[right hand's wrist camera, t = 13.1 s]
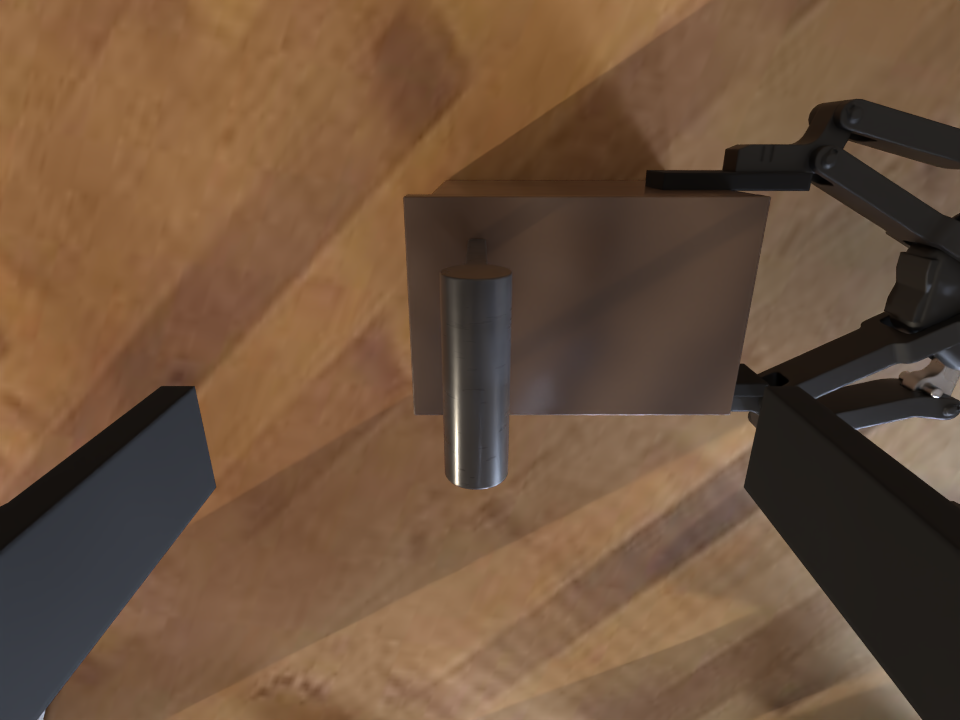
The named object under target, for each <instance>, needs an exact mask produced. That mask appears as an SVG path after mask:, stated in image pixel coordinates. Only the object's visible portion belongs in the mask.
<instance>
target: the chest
mask: <svg viewBox="0 0 960 720" xmlns="http://www.w3.org/2000/svg"><path fill="white" fill-rule="evenodd" d="M645 182H646V180H446V181H445V182H444V183H443V184H442V185H441V186H440V187H439V188H438V189H437V190H435V191H434V192H433V193H432V194H431V195H755V194H751V193H745V192H739V191H733V190H660V189H656V188H651V187H647V186H645Z"/></svg>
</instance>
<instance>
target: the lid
mask: <svg viewBox="0 0 960 720" xmlns="http://www.w3.org/2000/svg"><path fill="white" fill-rule="evenodd" d="M770 199H771V197H770V196H764V195H406V196H404V198H403V200H404V220H405V241H406V261H407V281H408V301H409V322H410V342H411V362H412V382H413V402H414V415H443V419H444V455H445V475H446V477H447V478H448V480H449V481H450V482H451V483H453V484H455V485H456V486H459V487H462V488H466V489H487V488H491V487H494V486H496V485H498V484H500V483H501V482H502V481H504V479H505V478H506V476H507V474H508V448H509V415H730V412H731V407H732V401H733V396H734V391H735V385H736V380H737V375H738V369H739V364H740V359H741V353H742V348H743V343H744V337H745V332H746V327H747V321H748V316H749V311H750V305H751V300H752V295H753V289H754V284H755V279H756V273H757V268H758V263H759V257H760V252H761V247H762V241H763V236H764V231H765V225H766V220H767V215H768V209H769V204H770Z"/></svg>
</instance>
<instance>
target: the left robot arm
mask: <svg viewBox="0 0 960 720" xmlns="http://www.w3.org/2000/svg"><path fill="white" fill-rule="evenodd" d="M808 120H809V127H808V129H807V131H806V133H805V134H804V136H803V137H802V138H801V139H800V140H799V141H797V142H796V143H793V144H789V145H772V144H748V145H735V146H732V147H730V148H727V149H726V150H725V157H724V163H723V169H722V170H647V173H646V182H645V186H647V187H651V188H656V189H660V190H733V191H809V189H810V185H811V183H812V184H813V185H815V186H816V187H818V188H820V189H821V190H823V191H824V192H826V193H827V194H829V195H831V196H832V197H834V198H835V199H837V200H838V201H840V202H842V203H843V204H845V205H846V206H848V207H850V208H851V209H853V210H854V211H856V212H857V213H859V214H861V215H862V216H864V217H865V218H867V219H868V220H870V221H872V222H873V223H875V224H876V225H878V226H879V227H881V228H883V229H884V230H886V234H888V235H889V236H891V237H892V238H894V239H895V240H897V241H899V242H900V243H902V244H903V245H905V246H906V247H908V248H909V249H908V250H907V252H900V256H899V260H898V263H897V267H896V283H895V285H894V287H893V289H892V291H891V292H890V294H889V296H888V299H887V302H886V306H885V309H884V311H885V312H883V313H881V314H879V315H877V316H874V317H872V318H870V319H868V320H865V321H864V322H862V323H861V327H860V328H859V329H858V330H856V331H853V332H851V333H849V334H847V335H844V336H842V337H840V338H838V339H835V340H833V341H831V342H829V343H826V344H824V345H822V346H820V347H817V348H815V349H813V350H811V351H809V352H806V353H804V354H802V355H800V356H797V357H795V358H793V359H791V360H788V361H786V362H784V363H782V364H779V365H777V366H775V367H773V368H770V369H768V370H766V371H764V372H762V373H759V374H756V373H755V372H753V371H752V370H751V369H750V368H749V367H747V366H746V365H745V364H739V369H738V375H737V380H736V385H735V391H734V396H733V401H732V407H731V411H750V412H749V414H748V419H749V421H750V422H751V423H752V424H753V425H754V426H755V427H756V428H757V423H758V418H759V414H760V409H761V404H762V400H763V395H764V390H765V386H799V387H800V388H802V389H803V390H804V391H806V392H807V393H808V394H810V395H811V396H812V397H813V398H815V399H816V400H817V401H819V402H820V403H821V404H823V405H824V406H825V407H827V408H828V409H829V410H831V411H832V412H833V413H835V414H836V415H837V416H838V417H840V418H841V419H842V420H844V421H845V422H846V423H848V424H849V425H850V426H852V427H853V428H854V429H861V428H865V427H870V426H875V425H880V424H884V423H889V422H894V421H898V420H903V419H908V418H913V417H919V418H930V419H941V420H950V419H952V418H955V417H956V416H957V415H959V413H960V401H959V400H957V399H955V398H953V397H951V394H952V392H953V390H954V387H955V385H956V383H957V381H958V379H959V376H960V213H959V214H957V215H956V216H954V217H953V218H950V217H947V216H945V215H943V214H941V213H939V212H938V211H936V210H935V209H933V208H932V207H930V206H928V205H927V204H925V203H924V202H922V201H921V200H919V199H918V198H916V197H915V196H913V195H912V194H910V193H909V192H907V191H906V190H904V189H903V188H901V187H900V186H898V185H897V184H895V183H893V182H892V181H890V180H889V179H887V178H886V177H884V176H883V175H881V174H880V173H878V172H877V171H875V170H874V169H872V168H871V167H869V166H868V165H866V164H865V163H863V162H861V161H860V160H858V159H857V158H855V157H854V156H852V155H851V154H849V153H848V152H846V151H845V150H843V148H844V146H845V144H846V143H847V141H852V142H855V143H858V144H862V145H865V146H869V147H872V148H875V149H879V150H882V151H886V152H889V153H892V154H896V155H899V156H903V157H906V158H909V159H913V160H916V161H920V162H923V163H926V164H930V165H933V166H937V167H941V168H947V169H960V129H959V128H955V127H952V126H949V125H945V124H942V123H939V122H936V121H932V120H929V119H926V118H922V117H919V116H916V115H912V114H909V113H906V112H903V111H899V110H896V109H893V108H889V107H886V106H883V105H879V104H876V103H873V102H869V101H866V100H863V99H852V100H844V101H836V102H828V103H822V104H819V105H817V106H816V107H815V108H813V110H812V111H811V113H810V115H809V119H808ZM927 357H929V358H930V359H931V360H932V361H931V362H930V364H929V365H928V366H927V367H926V368H924V369H922V370H919V371H913V372H911V373H910V372H908V371H904V372H902V373H900V375H899V379H894V378H889V379H879V380H873V381H869V382H864V383H860V384H855V385H851V386H846V385H848V384H851V383H853V382H855V381H858V380H860V379H862V378H865V377H867V376H869V375H872V374H874V373H876V372H879V371H881V370H883V369H885V368H888V367H890V366H892V365H895V364H899V363H905V364H909V363H915V362H918V361H920V360H922V359H925V358H927ZM844 386H846V387H844ZM841 387H842V388H841Z"/></svg>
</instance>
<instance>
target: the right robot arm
mask: <svg viewBox="0 0 960 720" xmlns="http://www.w3.org/2000/svg"><path fill="white" fill-rule="evenodd" d="M215 488H216V484H215V479H214V474H213V470H212V465H211V460H210V456H209V451H208V446H207V442H206V437H205V432H204V428H203V423H202V418H201V414H200V409H199V404H198V400H197V395H196V390H195V386H161V387H160V388H158V389H157V390H156V391H154V392H153V393H152V394H150V395H149V396H148V397H147V398H145V399H144V400H143V401H141V402H140V403H139V404H137V405H136V406H135V407H133V408H132V409H131V410H129V411H128V412H127V413H125V414H124V415H123V416H122V417H120V418H119V419H118V420H116V421H115V422H114V423H112V424H111V425H110V426H108V427H107V428H106V429H104V430H103V431H102V432H101V433H99V434H98V435H97V436H95V437H94V438H93V439H91V440H90V441H89V442H87V443H86V444H85V445H83V446H82V447H81V448H79V449H78V450H77V451H76V452H74V453H73V454H72V455H70V456H69V457H68V458H66V459H65V460H64V461H62V462H61V463H60V464H58V465H57V466H56V467H54V468H53V469H52V470H51V471H49V472H48V473H47V474H45V475H44V476H43V477H41V478H40V479H39V480H37V481H36V482H35V483H33V484H32V485H31V486H30V487H28V488H27V489H26V490H24V491H23V492H22V493H20V494H19V495H18V496H16V497H15V498H14V499H12V500H11V501H10V502H8V503H6V504H4V505H3V506H1V507H0V720H38V719H39V717H40V716H41V715H42V713H43V712H44V711H45V709H46V708H47V707H48V705H49V704H50V703H51V702H52V700H53V699H54V698H55V696H56V695H57V694H58V692H59V691H60V690H61V689H62V687H63V686H64V685H65V683H66V682H67V681H68V679H69V678H70V677H71V676H72V674H73V673H74V672H75V670H76V669H77V668H78V666H79V665H80V664H81V663H82V661H83V660H84V659H85V657H86V656H87V655H88V653H89V652H90V651H91V650H92V648H93V647H94V646H95V644H96V643H97V642H98V640H99V639H100V638H101V637H102V635H103V634H104V633H105V631H106V630H107V629H108V627H109V626H110V625H111V623H112V622H113V621H114V620H115V618H116V617H117V616H118V614H119V613H120V612H121V610H122V609H123V608H124V607H125V605H126V604H127V603H128V601H129V600H130V599H131V597H132V596H133V595H134V594H135V592H136V591H137V590H138V588H139V587H140V586H141V584H142V583H143V582H144V581H145V579H146V578H147V577H148V575H149V574H150V573H151V571H152V570H153V569H154V568H155V566H156V565H157V564H158V562H159V561H160V560H161V558H162V557H163V556H164V555H165V553H166V552H167V551H168V549H169V548H170V547H171V545H172V544H173V543H174V542H175V540H176V539H177V538H178V536H179V535H180V534H181V532H182V531H183V530H184V528H185V527H186V526H187V525H188V523H189V522H190V521H191V519H192V518H193V517H194V515H195V514H196V513H197V512H198V510H199V509H200V508H201V506H202V505H203V504H204V502H205V501H206V500H207V499H208V497H209V496H210V495H211V493H212V492H213V491H214V489H215ZM744 488H745V489H746V491H747V492H748V493H749V495H750V496H751V497H752V499H753V500H754V501H755V502H756V504H757V505H758V506H759V508H760V509H761V510H762V512H763V513H764V514H765V515H766V517H767V518H768V519H769V521H770V522H771V523H772V525H773V526H774V527H775V528H776V530H777V531H778V532H779V534H780V535H781V536H782V538H783V539H784V540H785V542H786V543H787V544H788V545H789V547H790V548H791V549H792V551H793V552H794V553H795V555H796V556H797V557H798V558H799V560H800V561H801V562H802V564H803V565H804V566H805V568H806V569H807V570H808V571H809V573H810V574H811V575H812V577H813V578H814V579H815V581H816V582H817V583H818V584H819V586H820V587H821V588H822V590H823V591H824V592H825V594H826V595H827V596H828V597H829V599H830V600H831V601H832V603H833V604H834V605H835V607H836V608H837V609H838V610H839V612H840V613H841V614H842V616H843V617H844V618H845V620H846V621H847V622H848V624H849V625H850V626H851V627H852V629H853V630H854V631H855V633H856V634H857V635H858V637H859V638H860V639H861V640H862V642H863V643H864V644H865V646H866V647H867V648H868V650H869V651H870V652H871V653H872V655H873V656H874V657H875V659H876V660H877V661H878V663H879V664H880V665H881V666H882V668H883V669H884V670H885V672H886V673H887V674H888V676H889V677H890V678H891V679H892V681H893V682H894V683H895V685H896V686H897V687H898V689H899V690H900V691H901V692H902V694H903V695H904V696H905V698H906V699H907V700H908V702H909V703H910V704H911V705H912V707H913V708H914V709H915V711H916V712H917V713H918V715H919V716H920V717H921V719H922V720H960V504H958V503H956V502H954V501H949V500H948V499H946V498H945V497H944V496H942V495H941V494H940V493H938V492H937V491H936V490H934V489H933V488H932V487H930V486H929V485H928V484H927V483H925V482H924V481H923V480H921V479H920V478H919V477H917V476H916V475H915V474H913V473H912V472H911V471H909V470H908V469H907V468H906V467H904V466H903V465H902V464H900V463H899V462H898V461H896V460H895V459H894V458H892V457H891V456H890V455H888V454H887V453H886V452H884V451H883V450H882V449H881V448H879V447H878V446H877V445H875V444H874V443H873V442H871V441H870V440H869V439H867V438H866V437H865V436H863V435H862V434H861V433H859V432H858V431H857V430H856V429H854V428H853V427H852V426H850V425H849V424H848V423H846V422H845V421H844V420H842V419H841V418H840V417H838V416H837V415H836V414H835V413H833V412H832V411H831V410H829V409H828V408H827V407H825V406H824V405H823V404H821V403H820V402H819V401H817V400H816V399H815V398H813V397H812V396H811V395H810V394H808V393H807V392H806V391H804V390H803V389H802V388H800V387H799V386H765V390H764V395H763V400H762V404H761V409H760V414H759V418H758V423H757V428H756V432H755V437H754V442H753V446H752V451H751V456H750V460H749V465H748V470H747V474H746V479H745V484H744Z"/></svg>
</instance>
